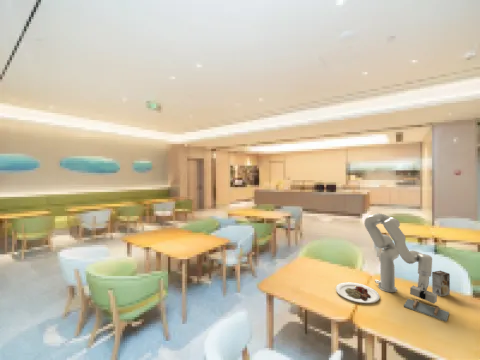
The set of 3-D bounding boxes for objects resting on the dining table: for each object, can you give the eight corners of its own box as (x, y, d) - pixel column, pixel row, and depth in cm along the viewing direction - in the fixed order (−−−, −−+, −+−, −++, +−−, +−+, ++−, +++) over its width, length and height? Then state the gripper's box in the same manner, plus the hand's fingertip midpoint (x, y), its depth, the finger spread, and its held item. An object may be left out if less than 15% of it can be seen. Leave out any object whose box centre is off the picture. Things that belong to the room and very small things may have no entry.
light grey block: (410, 293, 166) (410, 287, 166) (412, 291, 169) (413, 285, 169) (434, 303, 154) (434, 296, 154) (436, 301, 157) (437, 294, 157)
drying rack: (403, 306, 156) (403, 302, 156) (407, 300, 164) (407, 296, 164) (446, 321, 140) (446, 317, 140) (448, 313, 148) (449, 309, 148)
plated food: (334, 299, 168) (333, 294, 168) (337, 281, 194) (337, 277, 194) (381, 309, 154) (381, 304, 154) (378, 289, 181) (378, 285, 180)
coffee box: (440, 290, 176) (440, 270, 176) (450, 294, 170) (450, 273, 169) (431, 292, 174) (431, 271, 173) (441, 296, 167) (441, 275, 167)
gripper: (420, 266, 169) (419, 290, 170) (415, 274, 157) (413, 299, 159) (433, 270, 163) (431, 294, 165) (429, 278, 152) (427, 303, 153)
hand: (423, 296), depth 162 cm, fingers closed on light grey block, 5 cm apart
